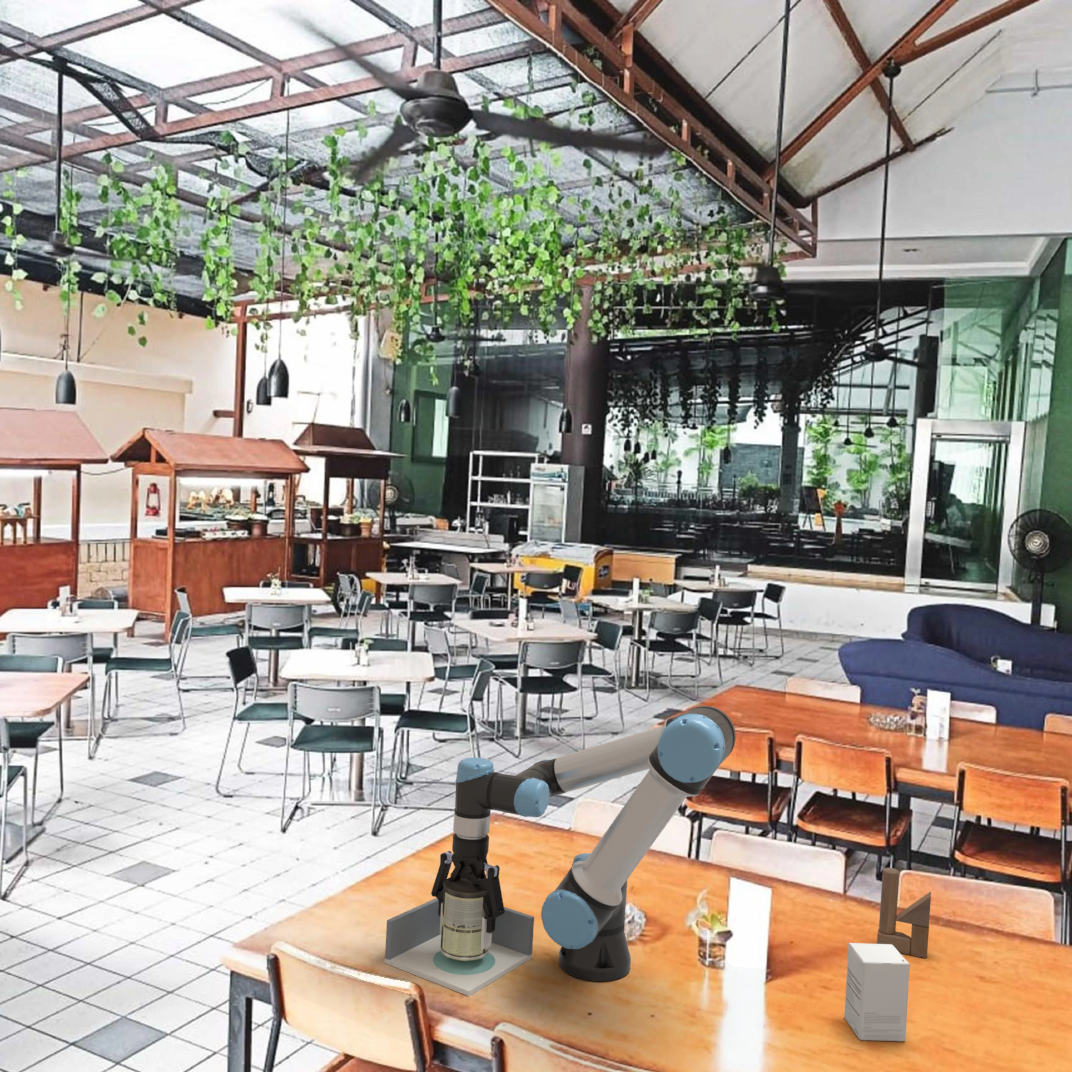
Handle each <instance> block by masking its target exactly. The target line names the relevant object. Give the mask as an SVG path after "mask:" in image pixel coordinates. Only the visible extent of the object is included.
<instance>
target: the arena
mask: <svg viewBox="0 0 1072 1072" xmlns="http://www.w3.org/2000/svg"><path fill="white" fill-rule="evenodd" d="M438 909H439V901H438V899H437V898H436V897H435V898H432V899H430V900H429V901H425V902H424V903H421V904H420V905H418V906H415V907H413V908H410V909H408V910H406V911H404V912H402V913H399V914H398V915H395V916H393V917H391V918H389V919H386V930H385V931H386V932H385V951H384V952H385V953H384V964H386V965H389V966H391V967H394V968H395V969H399V970H401V971H404V972H406V973H409V974H412V975H414V976H417V977H418V978H419V977H420V979H424V980H426V981H428V982H432V983H434V984H436V985H439V986H441V987H444V988H446V989H449V990H452V991H455V992H456V993H457V992H458V993H460V994H463V995H464V996H467V997H470V996H472V995H473V994H475V993H477V992H478V991H480V990H482V989H483V988H486V987H487V986H488V985H490V984H492V983H493V982H495V981H496V980H498V979H500V978H501V977H503V976H505V975H507V974H509V973H510V972H512V971H513V970H515V969H516V968H518V967H520V966H521V965H523V964H525V963H526V962H528V961H530V960H532V959H533V942H534V925H535V916H533V915H530V914H527V913H525V912H521V911H519V910H514V909H511V908H509V907H505V906H504V911H505V912H504V914H502V915H500V916H498V917H496V920H495V930H494V932H492V939H491V946H489V952H488V954H487V955H486V956H485V957H483V958H480V959H477V960H470V961H461V960H455V959H451V958H448V957H446V956H445V955H443V954H442V953H441V951H440V947H441V934H440V917H441V916H439V914H438ZM531 958H532V959H531Z"/></svg>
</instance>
